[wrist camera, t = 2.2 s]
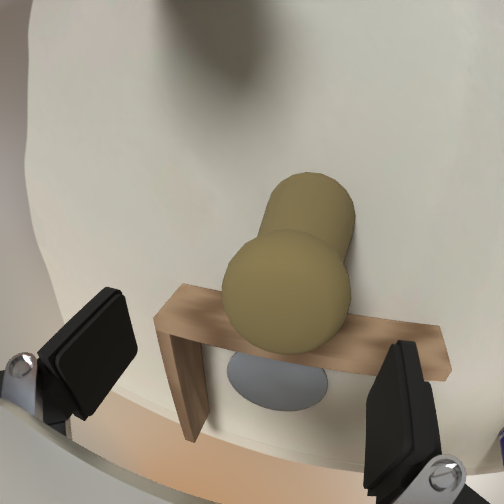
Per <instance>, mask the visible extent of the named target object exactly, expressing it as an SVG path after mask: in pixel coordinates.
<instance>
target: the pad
mask: <svg viewBox="0 0 504 504" xmlns="http://www.w3.org/2000/svg"><path fill="white" fill-rule="evenodd" d="M227 375H228V378H229V381H230V383H231V385H232V386H233V387H234V389H235V390H236V391H237V392H238V393H239V394H240V395H241V396H243V397H244V398H246V399H247V400H249V401H250V402H252V403H254V404H257V405H259V406H261V407H264V408H268V409H272V410H278V411H297V410H302V409H306V408H309V407H311V406H313V405H315V404H316V403H318V402H319V401H320V400H321V399H322V398H323V397H324V395H325V393H326V389H327V376H326V374H325V372H324V370H323V368H317V367H311V366H305V365H300V364H294V363H289V362H284V361H278V360H273V359H269V358H264V357H259V356H254V355H250V354H245V353H241V352H236V353H235V354H234V355H233V356H232V358H231V360H230V362H229V364H228V367H227Z"/></svg>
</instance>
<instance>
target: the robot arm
mask: <svg viewBox="0 0 504 504" xmlns="http://www.w3.org/2000/svg"><path fill="white" fill-rule="evenodd" d="M137 351H138V347H137V343H136V339H135V336H134V332H133V328H132V324H131V320H130V316H129V312H128V308H127V304H126V299H125V296H124V295H122V292H121V291H120V290H118V289H114V288H110V287H105V288H104V289H102V290H101V291H100V292H99V293H98V294H97V295H96V296H95V297H94V298H93V299H92V300H90V301H89V302H88V303H87V304H86V305H85V306H84V307H83V308H82V309H81V310H80V311H79V312H78V313H77V314H76V315H74V316H73V317H72V318H71V319H70V320H69V321H68V322H67V323H66V324H65V325H64V326H63V327H62V328H61V329H60V330H59V331H58V332H57V333H56V334H55V335H54V336H53V337H52V338H51V339H50V340H49V341H48V342H47V343H46V344H45V345H44V346H43V347H42V348H41V349H40V350H39V351H38V352H37V353H38V355H39V358H38V359H36V357H35V356H34V355H33V354H32V353H28V352H22V353H19V354H17V355H15V356H13V357H12V358H11V359H10V360H9V361H8V363H7V365H6V368H5V370H3V371H0V504H220V503H216V502H213V501H209V500H205V499H202V498H199V497H196V496H193V495H190V494H187V493H184V492H181V491H178V490H175V489H173V488H170V487H167V486H165V485H162V484H159V483H157V482H154V481H152V480H149V479H147V478H145V477H142V476H140V475H138V474H136V473H133V472H131V471H129V470H127V469H124V468H122V467H120V466H118V465H116V464H114V463H112V462H110V461H108V460H106V459H104V458H102V457H101V456H99V455H97V454H95V453H93V452H91V451H89V450H87V449H86V448H84V447H82V446H81V445H79V444H77V443H75V442H73V441H72V432H71V423H70V416H71V415H72V414H74V415H75V416H76V417H78V418H80V419H82V420H83V421H85V420H86V419H87V418H88V416H91V415H93V414H94V412H95V411H96V409H97V408H98V407H99V405H100V404H101V403H102V401H103V400H104V398H105V397H106V396H107V394H108V393H109V391H110V390H111V389H112V387H113V386H114V385H115V383H116V382H117V380H118V379H119V378H120V376H121V375H122V374H123V372H124V371H125V369H126V368H127V367H128V365H129V364H130V363H131V361H132V360H133V359H134V357H135V356H136V354H137ZM465 481H466V470H465V467H464V465H463V463H462V462H461V461H460V460H459V459H458V458H456V457H454V456H452V455H447V454H443V455H442V451H441V443H440V435H439V428H438V421H437V415H436V409H435V403H434V398H433V393H432V388H431V385H430V383H429V382H426V381H424V378H423V373H422V368H421V363H420V359H419V354H418V350H417V346H416V343H415V341H406V340H398V341H397V342H396V344H391V346H390V348H389V350H388V352H387V355H386V357H385V359H384V362H383V364H382V366H381V368H380V371H379V373H378V375H377V377H376V379H375V381H374V384H373V386H372V388H371V390H370V392H369V394H368V397H367V402H366V448H365V467H364V482H363V486H364V488H365V489H368V494H367V496H376V504H490V503H489V502H487V501H486V500H485V499H484V498H482V497H481V496H480V495H479V494H477V493H476V492H475V491H473V490H472V489H471V488H470V487H468V486H467V485H466V484H465Z"/></svg>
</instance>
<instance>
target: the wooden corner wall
mask: <svg viewBox="0 0 504 504" xmlns="http://www.w3.org/2000/svg"><path fill="white" fill-rule="evenodd" d="M153 319H154V324H155V328H156V333H157V338H158V342H159V346H160V351H161V355H162V359H163V363H164V367H165V371H166V375H167V379H168V382H169V386H170V390H171V393H172V397H173V401H174V404H175V407H176V411H177V414H178V418H179V421H180V424H181V427H182V430H183V434H184V437H185V439H186V440H188V441H191V442H194V443H195V441H196V439H197V437H198V435H199V433H200V431H201V429H202V427H203V425H204V423H205V421H206V419H207V416H208V414H209V406H208V398H207V391H206V384H205V376H204V368H203V360H202V351H201V343H204V344H208V345H212V346H216V347H220V348H224V349H228V350H232V351H237V352H241V353H245V354H250V355H254V356H259V357H264V358H269V359H273V360H278V361H284V362H289V363H294V364H300V365H305V366H311V367H317V368H323V369H330V370H336V371H343V372H350V373H358V374H366V375H374V376H377V375H378V373H379V371H380V368H381V366H382V364H383V362H384V359H385V357H386V355H387V352H388V350H389V348H390V346H391V344H396V342H397V341H398V340H406V341H415V343H416V346H417V350H418V354H419V359H420V363H421V368H422V373H423V378H424V380H429V381H446V379H447V377H448V376H449V374H450V373H451V371H452V368H451V364H450V361H449V357H448V353H447V349H446V346H445V342H444V339H443V335H442V332H441V329H440V326H434V325H426V324H418V323H410V322H402V321H395V320H387V319H380V318H373V317H366V316H359V315H353V314H347V317H346V319H345V321H344V323H343V325H342V326H341V328H340V329H339V330H338V332H337V333H336V335H335V336H334V337H333V338H331V339H330V340H329V341H327V342H326V343H324V344H323V345H321V346H320V347H318V348H317V349H315V350H312V351H309V352H306V353H303V354H295V355H282V354H276V353H271V352H267V351H265V350H263V349H260V348H258V347H256V346H253V345H252V344H251V343H249V342H248V341H247V340H245V339H244V338H243V337H241V336H240V335H239V334H238V332H237V331H236V330H235V329H234V327H233V326H232V325H231V324H230V321H229V319H228V316H227V314H226V312H225V309H224V306H223V303H222V291H217V290H212V289H207V288H202V287H197V286H192V285H188V284H182V285H181V286H180V287H179V288H178V289H177V291H176V292H175V293H174V294H173V295H172V296H171V298H170V299H169V300H168V301H167V302H166V304H165V305H164V306H163V307H162V308H161V309H160V311H159V312H158V313H157V314H156V315H155V317H154V318H153Z"/></svg>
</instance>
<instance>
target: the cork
mask: <svg viewBox="0 0 504 504" xmlns="http://www.w3.org/2000/svg"><path fill="white" fill-rule="evenodd" d="M354 222H355V210H354V205H353V201H352V200H351V198H350V196H349V194H348V193H347V191H346V189H345V188H343V187H342V186H341V185H340V184H339V183H338V182H337V181H336V180H334V179H332V178H330V177H328V176H325V175H323V174H319V173H310V172H305V173H300V174H295V175H292V176H290V177H289V178H287V179H285V180H283V181H282V182H280V184H279V185H278V186H277V187H276V188H275V189H274V191H273V192H272V194H271V196H270V199H269V201H268V204H267V207H266V210H265V214H264V217H263V220H262V223H261V226H260V229H259V233H258V236H257V237H256V238H254V239H253V240H251V241H249V242H247V243H245V244H244V245H243V247H242V248H241V249H240V250H239V251H238V252H237V254H236V255H235V256H234V257H233V258H232V260H231V261H230V262H229V264H228V267H227V270H226V273H225V276H224V279H223V283H222V303H223V306H224V309H225V312H226V314H227V316H228V319H229V321H230V324H231V325H232V326H233V327H234V329H235V330H236V331H237V332H238V334H239V335H240V336H241V337H243V338H244V339H245V340H247V341H248V342H249V343H251V344H252V345H253V346H256V347H258V348H260V349H263V350H265V351H267V352H271V353H276V354H282V355H295V354H303V353H306V352H309V351H312V350H315V349H317V348H318V347H320V346H321V345H323V344H324V343H326V342H327V341H329V340H330V339H331V338H333V337H334V336H335V335H336V333H337V332H338V330H339V329H340V328H341V326H342V325H343V323H344V321H345V319H346V317H347V314H348V310H349V306H350V301H351V288H350V282H349V275H348V272H347V270H346V268H345V267H344V265H343V263H344V260H345V257H346V253H347V250H348V246H349V243H350V240H351V236H352V233H353V229H354Z"/></svg>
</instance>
